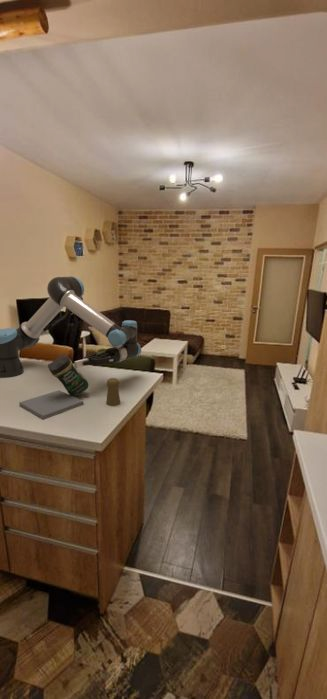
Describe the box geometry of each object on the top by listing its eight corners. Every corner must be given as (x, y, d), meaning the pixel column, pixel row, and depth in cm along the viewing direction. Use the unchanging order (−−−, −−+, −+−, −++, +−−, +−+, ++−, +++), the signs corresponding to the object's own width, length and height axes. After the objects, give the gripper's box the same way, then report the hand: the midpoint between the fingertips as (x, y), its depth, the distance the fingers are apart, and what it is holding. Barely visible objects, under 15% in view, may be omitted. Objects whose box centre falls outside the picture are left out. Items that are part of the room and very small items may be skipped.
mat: (19, 405, 127) (19, 402, 127) (59, 393, 141) (59, 390, 141) (43, 419, 116) (42, 415, 116) (83, 404, 130) (83, 401, 130)
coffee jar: (73, 400, 135) (47, 371, 124) (69, 391, 141) (44, 363, 131) (91, 387, 137) (67, 357, 126) (87, 379, 143) (63, 350, 132)
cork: (106, 400, 135) (106, 376, 133) (120, 400, 136) (120, 376, 133) (105, 406, 129) (105, 381, 127) (120, 405, 130) (119, 381, 127)
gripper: (125, 364, 148) (85, 376, 130) (106, 359, 156) (66, 369, 138) (125, 349, 146) (84, 359, 128) (106, 344, 154) (66, 353, 136)
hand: (75, 364), depth 133 cm, fingers closed
